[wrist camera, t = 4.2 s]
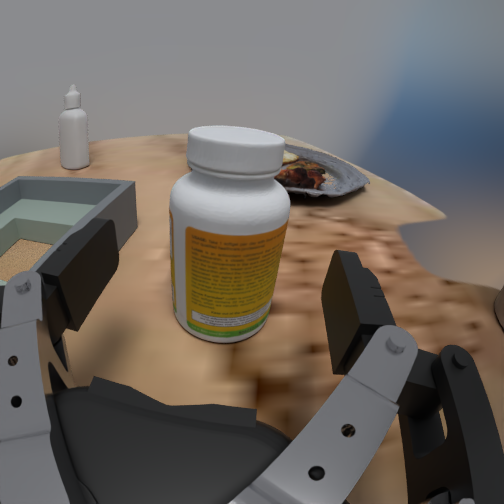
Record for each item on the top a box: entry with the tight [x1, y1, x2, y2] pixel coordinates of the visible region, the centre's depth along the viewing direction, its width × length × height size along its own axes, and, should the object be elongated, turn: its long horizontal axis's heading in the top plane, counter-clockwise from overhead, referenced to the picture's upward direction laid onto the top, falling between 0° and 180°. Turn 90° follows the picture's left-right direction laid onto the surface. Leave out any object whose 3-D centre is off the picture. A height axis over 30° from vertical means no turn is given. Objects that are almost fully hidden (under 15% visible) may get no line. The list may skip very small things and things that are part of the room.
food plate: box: [274, 144, 370, 198], centre depth 40 cm, size 25×23×4 cm
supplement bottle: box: [169, 126, 290, 343], centre depth 14 cm, size 5×5×10 cm
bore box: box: [0, 176, 138, 286], centre depth 16 cm, size 14×14×4 cm
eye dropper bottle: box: [59, 85, 89, 170], centre depth 32 cm, size 4×6×12 cm
